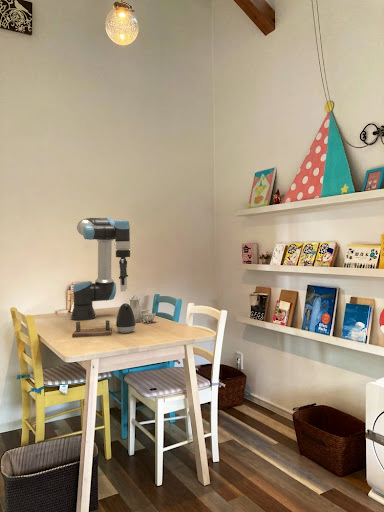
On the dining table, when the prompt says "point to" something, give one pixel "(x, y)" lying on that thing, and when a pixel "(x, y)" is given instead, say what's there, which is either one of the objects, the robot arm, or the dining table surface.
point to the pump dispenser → (125, 319)
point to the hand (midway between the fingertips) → (123, 290)
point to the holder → (92, 331)
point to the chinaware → (140, 311)
